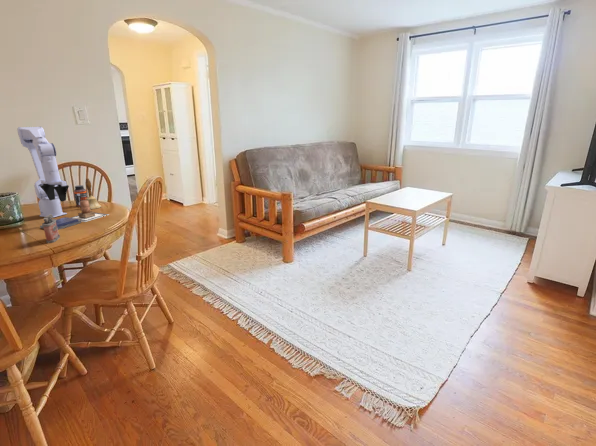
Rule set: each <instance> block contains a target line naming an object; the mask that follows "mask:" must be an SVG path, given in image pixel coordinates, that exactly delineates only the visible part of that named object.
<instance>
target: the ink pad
mask: <svg viewBox="0 0 596 446" xmlns="http://www.w3.org/2000/svg"><path fill="white" fill-rule="evenodd" d="M43 223H44V222H43ZM43 223H41V224H43ZM78 224H82V221H79V220H78V219H75V218H71V217H66V216H64V217H61V218H57V219H56V225H57V229H58V231H59V230H62V229H65V228H69V227H72V226H75V225H78ZM39 227H40V229H43V230H44V227H43V226H42V225H40V226H39Z"/></svg>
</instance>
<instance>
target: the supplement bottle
mask: <svg viewBox="0 0 596 446" xmlns="http://www.w3.org/2000/svg"><path fill="white" fill-rule="evenodd" d="M73 194H74V200H75V204H76V205H75V206H76V207H78V208H81V206H80V201H83V200H86V198H88V197H89V196H88V191H87V189H85V187H84V185H82V184H81V185H80V184H79V185H75V186H74V190H73Z"/></svg>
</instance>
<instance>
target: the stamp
mask: <svg viewBox="0 0 596 446" xmlns="http://www.w3.org/2000/svg"><path fill="white" fill-rule="evenodd" d="M80 206H81V207H80V209H81V210H80V211H81V212H77V213H78V214H77V216H79V218H85V219H87V218H90V217H94V216H95V213H96V212H95V211H91V209H90V207H89V202H88V200H83V201H80Z"/></svg>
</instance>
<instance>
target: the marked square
mask: <svg viewBox="0 0 596 446" xmlns="http://www.w3.org/2000/svg"><path fill="white" fill-rule="evenodd" d="M106 215H107V216H109V215H110V214H108V213H100V212H95V216H94V217H90V218H87V219H85V218H79V216H78V215H76V216H72V217H70V218H75V219H78V220H79V221H81V223H86V222H90V221H93V220H96V219H100V218H103V216H104V217H106Z"/></svg>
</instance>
